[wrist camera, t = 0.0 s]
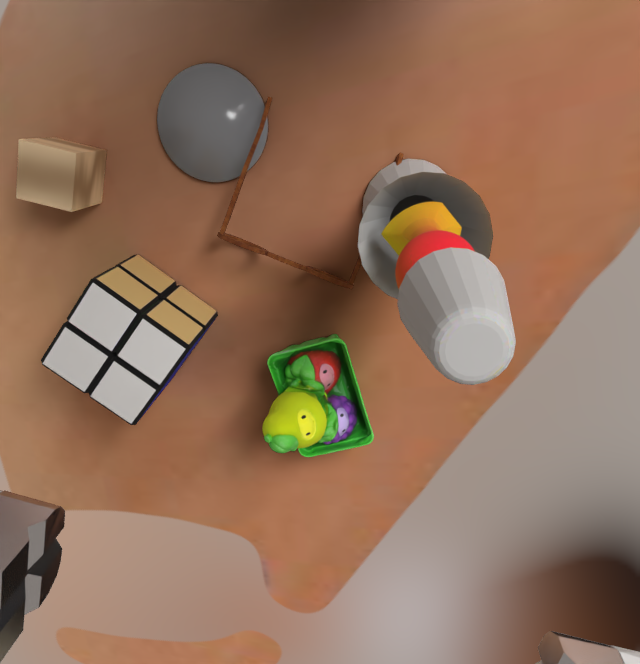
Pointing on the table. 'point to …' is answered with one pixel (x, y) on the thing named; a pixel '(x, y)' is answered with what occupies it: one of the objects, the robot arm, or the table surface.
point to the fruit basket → (316, 400)
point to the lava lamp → (438, 268)
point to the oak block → (60, 173)
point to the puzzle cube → (128, 337)
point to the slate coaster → (211, 122)
